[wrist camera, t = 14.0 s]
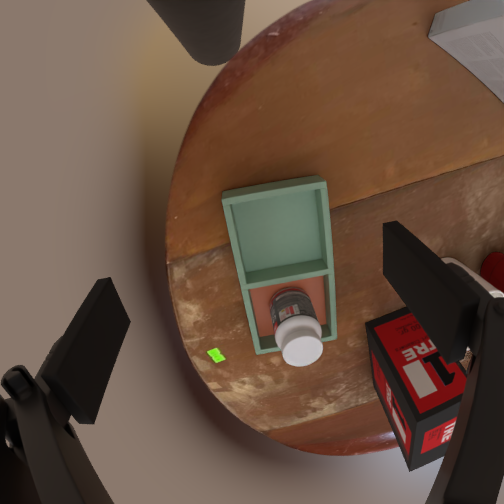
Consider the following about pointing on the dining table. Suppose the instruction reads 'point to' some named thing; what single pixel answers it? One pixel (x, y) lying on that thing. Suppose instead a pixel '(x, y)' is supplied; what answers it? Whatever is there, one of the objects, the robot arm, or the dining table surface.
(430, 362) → the cleaning product box
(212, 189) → the dining table surface
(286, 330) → the pill bottle
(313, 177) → the divided tray
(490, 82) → the skincare box
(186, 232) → the dining table surface
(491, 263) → the plastic cup
